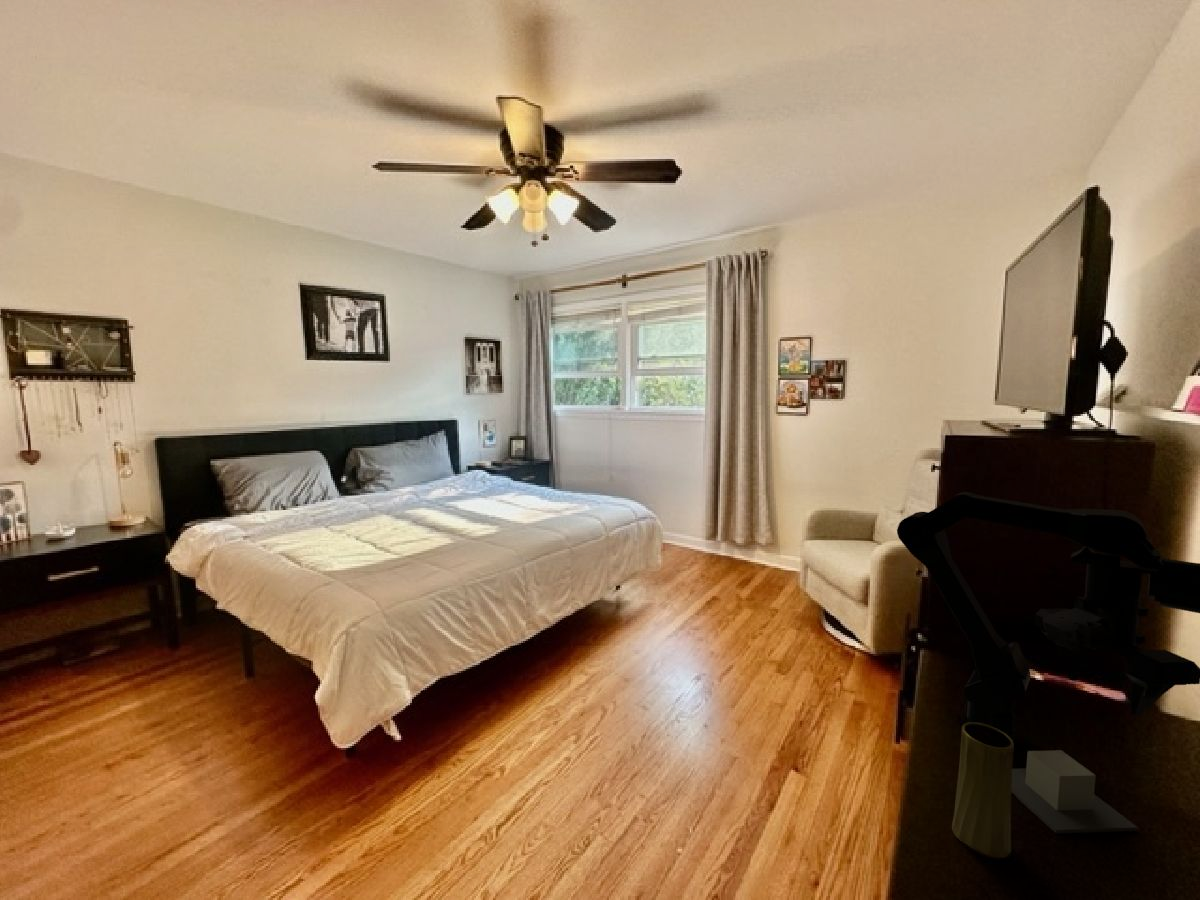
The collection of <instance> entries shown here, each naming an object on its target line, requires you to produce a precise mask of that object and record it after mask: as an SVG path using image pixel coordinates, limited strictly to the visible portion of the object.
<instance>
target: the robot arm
mask: <svg viewBox="0 0 1200 900" xmlns="http://www.w3.org/2000/svg"><path fill="white" fill-rule="evenodd" d="M965 518H966V519H967V518H969V519H972V520H973V519H974V520H979V521H983V522H990V523H995V524H999V525H1006V526H1010V527H1014V528H1020V529H1025V530H1031V531H1037V532H1040V533H1041V532H1042V533H1046V534H1051V535H1056V536H1059V537H1062V538H1065V539H1067V540H1069V541H1072V542H1074V543H1077V544H1079V545H1082V548H1081V549H1079V550H1076V551H1075V552H1072V553H1071V554H1070V558H1069V559H1070V561H1071V562H1072V563H1079V564H1083V565H1084V564H1085V565H1086V575H1085V585H1084V586H1085V587H1084V596H1076V599H1075V600H1074V603H1073V607H1072V608H1071V609H1069V608H1067V607H1066V608H1062V607H1059V608H1040V609H1039V610H1038V611H1036V613H1035V615H1034V626H1036V627H1038V628H1040V631H1041V632H1042V633H1043V634H1044V635H1046V637H1047V639H1048V640H1049V641H1050V642H1054V643H1055V644H1056V645H1055V646H1056V647H1057V649H1058V652H1059V655H1060V656H1061V660H1062V663H1063V665H1064V669H1065V671H1066V674H1067V677H1068V679H1069V680H1070V681H1072V682H1073V681H1074V682H1075V681H1078V680H1079V677H1081V675H1082V674H1081V673H1082V671H1083V668H1084V664H1085V660H1086V658H1087V653H1088V650H1089V649H1092V650H1097V649H1099V648H1103V647H1104V648H1106V649H1107V650H1110V651H1112V652H1114V653H1116V654H1119V655H1120V656H1123V657H1125V658H1127V659H1126V665H1127V666H1128V668H1129V669H1130V670H1125V671H1124V673H1125V675H1126V676H1127V677H1128V678H1129V679H1130V681H1131V693H1130V695H1131V696H1130V697H1131V698H1130V710H1131V715H1132V716H1134V717H1142V716H1143V715H1144V714H1145V713H1146V712H1147V711H1148V710H1149V709H1150V708H1151V707H1152V706H1153V705H1154V704H1155V703H1156V702H1157V701H1158V700H1159V699H1160V698H1161V697H1162V696H1163V695H1165V693H1167V692H1169V691H1170V689H1173V688H1174V687H1175V686H1186V685H1200V667H1199V666H1198V664H1196V662H1195V661H1193V660H1190V659H1188V658H1185V657H1183V656H1181V655H1178V654H1176V653H1173V652H1171V651H1169V650H1167V649H1145V650H1144V649H1143V648H1139V647H1138V646H1136V644H1146V636H1145V635H1143V634H1139V633H1138V625H1139V617H1148V613H1149V608H1146V607H1143V606H1141V605H1140V604H1141V596H1142V595H1141V593H1142V583H1143V574H1147V575H1148V582H1147V597H1150V598H1154V602H1158V606H1160V607H1165V608H1169V609H1175V610H1180V611H1186V612H1192V613H1195V614H1200V563H1199V562H1191V561H1184V560H1177V559H1170V558H1163V555H1162V554H1161V553H1160V549H1158V548H1156V547H1155V546H1154V545H1153V544H1152V543H1151V542H1150V541H1149V539H1148V538H1147V531H1146V526H1145V525H1144V522H1143V521H1142V520H1141V519H1140V518H1139V516H1137V515H1135V514H1133V513H1132V512H1130V511H1127V510H1126V511H1125V510H1123V509H1121V510H1120V509H1107V508H1106V509H1105V508H1100V509H1099V508H1077V509H1076V508H1075V509H1073V508H1072V509H1071V508H1059V507H1052V506H1045V505H1039V504H1034V503H1029V502H1028V503H1027V502H1021V501H1015V500H1009V499H1003V498H998V497H993V496H992V497H991V496H985V495H979V494H975V493H973V492H969V491H963V492H959V493H957V494H955V495H954V496H952V497H951V498H950V499H949V500H948V501H946V502H944V503H943V504H941V505H939V506H937V507H936V508H934V509H932V510H931V511H929V512H928V511H918V512H915V513H913V514H911V515H909V516H907V517H905V518H904V519H902V520H901V521H900V522H899V523H898V526H897V528H896V534H897V537H898V539H899V541H900V542H901V543H902V544H903V546H904V547H905V548H906V550H907V551H908V552H909V553H910V554H911V555H912V556H913V557H914V558H916V560H918V561H919V562H920V563H921V564H922V565H924V566H925V568H926V569H927V571H928V573H929V575H930V577H931V578H932V580H933V581H934V583H935V585H936V587H937V589H938V590H939V592H940V594H941V595H942V597H943V599H944V601H945V603H946V605H947V607H949V609H950V611H951V613H952V615H953V617H954V618H955V620H956V622H957V624H958V625H959V627H960V629H961V631H962V632H963V634H964V636H965V638H966V640H967V641H968V642H969V645H970V648H971V652H972V658H973V661H974V667H975V669H974V670H973V671H972V674H971V675H970V677H969V679H968V681H967V682H966V685H965V686H964V688H963V691H964V694H965V702H964V703H965V707H964V715H962V716H960V715H959V716H956V717H955V719H956V721H957V722H958V723H960V725H962V726H963V725H964V724H966V723H969V722H974V723H982V724H986V725H989V726H992V727H994V728H997V729H999V730H1001V731H1002V732H1004V733H1006V734H1007V735H1008V736H1009V737H1010V738H1011V739H1012V740H1013V743H1021V738H1020V737H1019V735H1016V734H1015V732H1014V727H1015V725H1014V723H1015V717H1014V705H1012V704H1011V702H1016V701H1020V700H1021V699H1022V698H1023V697H1024V696H1025V694H1026V690H1027V689H1028V686H1029V683H1030V679H1031V670H1030V669H1031V666H1032V663H1031V662H1030V661H1029V660H1028V659H1026V657H1025V655H1024V654H1023V652H1022V649H1021V647H1020V645H1019V643H1018V641H1013V642H1011V643H1008V642H1006V640H1005V639H1003V638H1002V637H1001V636H1000V635H999V634H998V633H997V631H996V629H995V628H994V626H993V624H992V622H991V621H990V620H989V618H988V616H987V614H986V613H985V611H984V609H983V607H982V606H981V604H980V602H979V601H978V599H977V598H976V596H975V594H974V592H973V591H972V589H971V587H970V585H969V584H968V582H967V581H966V579H965V577H964V575H963V574H962V572H961V570H960V569H959V567H958V565H957V563H956V562H955V560H954V559H953V557H952V553H951V547H950V544H949V539H948V536H947V534H946V530H945V529H947V528H950V527H951V526H953V525H954V524H956V523H958V522H960V521H962V520H963V519H965ZM1093 549H1094V550H1093ZM1095 550H1097V551H1095ZM1098 551H1099V552H1098ZM1121 556H1123V557H1124V558H1126V559H1127V560H1129V561H1125V560H1121V558H1122V557H1121Z"/></svg>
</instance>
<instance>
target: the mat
mask: <svg viewBox="0 0 1200 900" xmlns="http://www.w3.org/2000/svg"><path fill="white" fill-rule="evenodd" d="M1025 781H1026V767H1023V768H1012V788H1011V794H1012V793H1013V794H1014V795H1015V796H1016V797H1017V800H1018V801H1020V803H1022V804H1023V805H1024V806H1025V807H1026V808H1027V809H1028V810H1030V811H1031V812H1032V814H1034V815H1035V816H1037V818H1039V820H1041V822H1043V824H1045V825H1046V826H1047V827H1049V828H1050V830H1051V831H1052V832H1054V833H1055V834H1077V833H1078V834H1082V833H1083V834H1085V833H1112V832H1137V831H1138V830H1139V829H1138V828H1139V827H1138V826H1137V825H1136V824H1134V823H1133V822H1131V820H1129V819H1127V817H1125V816H1124V815H1122V814H1121V813H1119V812H1118V811H1117V810H1116V809H1114V808H1113V807H1112V806H1111V805H1110V804H1108V803H1107V802H1105V801H1104V800H1102V799H1101V798H1100V797H1099V796H1098V795H1096V794H1095V793H1094V801H1093V810H1058V811H1057V810H1056V809H1055V808H1054V807H1052V806H1051V805H1050V804H1049V803H1048V802H1047V801H1045V800H1044V799H1043V798H1042V797H1041V796H1040V795H1039V794H1037V793H1036V792H1035V791H1034V790H1033V789H1032V788H1030V787H1029V786H1028V785H1027V784H1026V783H1025ZM1013 794H1012V795H1013ZM1014 795H1013V796H1014ZM1015 796H1014V797H1015ZM1016 797H1015V798H1016Z"/></svg>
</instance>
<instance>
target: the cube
mask: <svg viewBox="0 0 1200 900" xmlns="http://www.w3.org/2000/svg"><path fill="white" fill-rule="evenodd" d="M1026 755H1027V756H1026V767H1025V768H1026V781H1025V783H1026V784H1027V785H1028V786H1029V787H1030V788H1032V789H1033V790H1034V791H1035V792H1036V793H1037V794H1039V795H1040V796H1041V797H1042V798H1043V799H1044V800H1045V801H1047V802H1048V803H1049V804H1050V805H1051V806H1052V807H1054V808H1055V809H1056V810H1057V811H1058V810H1093V801H1094V794H1095V789H1096V785H1095V784H1096V776H1097V775H1096V774H1094V773H1093V772H1091V771H1090V770H1089V769H1088V768H1087V767H1085V766H1084V765H1082V764H1081V763H1079V762H1078V761H1076V760H1075V759H1074V758H1073V757H1071V756H1069V754H1067V753H1065V752H1064V751H1063V750H1061V749H1057V750H1055V749H1054V750H1027V754H1026Z"/></svg>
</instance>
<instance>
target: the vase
mask: <svg viewBox="0 0 1200 900" xmlns="http://www.w3.org/2000/svg"><path fill="white" fill-rule="evenodd" d="M1014 749H1015V742H1013V740H1012V739H1011V738H1010V737H1009V736H1008V735H1007V734H1006V733H1004V732H1002V731H1001V730H999V729H997V728H994V727H992V726H989V725H986V724H982V723H974V722H969V723H966V724H964V725H962V727H961V739H960V751H959V753H960V754H959V763H958V764H959V767H958V774H957V783H956V791H955V792H956V793H955V802H954V810H953V811H954V812H953V819H952V823H951V829H952V833H953V834H954V836H955V838H956V839H957V838H958V839H959V840H960V841H962V842H963V843H965V844H967V845H968V846H970V847H971V848H973V849H976V850H978V851H980V852H982V853H984V854H986V855H990V856H993V857H994V856H995V857H998V858H999V857H1001V858H1002V857H1007V856H1008V855H1009V854H1010V853H1011V854H1012V844H1011V843H1012V842H1011V841H1012V840H1011V835H1012V833H1011V832H1012V830H1011V829H1012V827H1011V826H1012V808H1011V807H1012V793H1011V788H1012V769H1013V763H1014V762H1013V761H1014V760H1013V758H1014ZM958 839H957V840H958ZM959 840H958V841H959ZM960 841H959V842H960ZM1011 854H1010V855H1011ZM1010 855H1009V856H1010ZM1009 856H1008V857H1009ZM1008 857H1007V858H1008Z"/></svg>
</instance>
